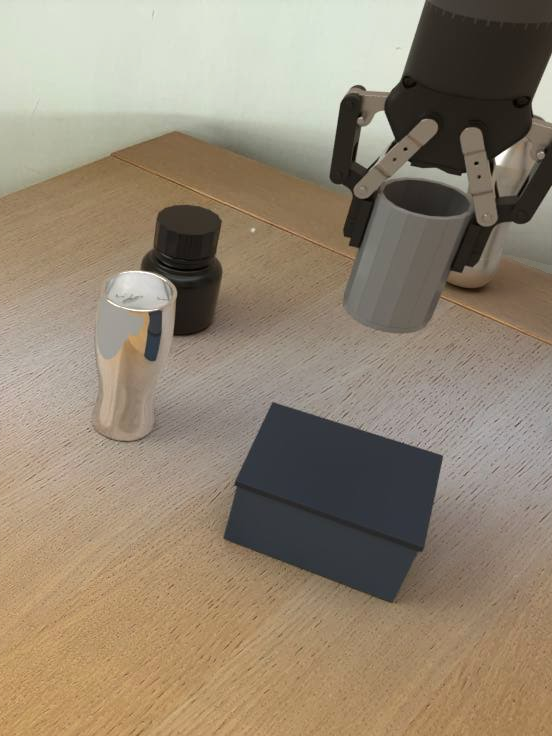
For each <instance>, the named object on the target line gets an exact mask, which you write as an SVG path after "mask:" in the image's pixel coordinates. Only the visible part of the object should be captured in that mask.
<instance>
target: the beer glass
mask: <svg viewBox="0 0 552 736" xmlns="http://www.w3.org/2000/svg"><path fill="white" fill-rule="evenodd" d="M176 298H177V290H176V288H175V286H174V285H173V283H172V282H171V281H169V280H168V279H166V278H165V277H163V276H161V275H158V274H156V273H152V272H148V271H141V270H140V269H128V270H122V271H117V272H115V273H112V274H110V275H108V276H107V277H106V278H104V280H103V281H102V282H101V284H100V292H99V297H98V303H97V306H96V307H97V308H96V313H95V322H94V332H93V333H94V335H93V342H94V343H93V344H94V355H95V363H96V364H95V365H96V366H95V367H96V373H97V382H98V383H97V384H98V386H97V387H98V389H97V396H96V398H95V401H94V402H95V403H94V405H93V408H92V412H91V422H92V426H93V427H94V428H95V430H96V431H97V432H98V433H100V434H101V435H103V436H104V437H106V438H108V439H110V440H115V441H121V442H131V441H137V440H141V439H142V438H144V437H146V436H148V435H149V434H151V432H152V431H153V429H154V426H155V408H154V407H155V406H154V401H155V400H154V399H155V393H156V390H157V388H158V387H157V386H158V385H159V381H160V379H161V376H162V374H163V371H164V368H165V366H166V363H167V361H168V358H169V355H170V352H171V351H170V350H171V348H172V343H173V338H174V334H173V333H174V325H175V313H176Z"/></svg>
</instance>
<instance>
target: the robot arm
mask: <svg viewBox="0 0 552 736" xmlns="http://www.w3.org/2000/svg"><path fill="white" fill-rule="evenodd" d="M407 55H408V56H407V59H406V62H405V65H404V68H403V72H402V74H401V77H400V79H399V82H398V83H397V84H396V85H395V86H394V87H393V88H392V89H391V90H390V91H378V90H377V91H376V90H367V89H366V87H365V86H363V85H361V84H355V85H353V86H351V87H349V89H348V91H347V92H346V93H345V95H344V96H343V98H342V99H341V101H340V103H339V108H338V116H337V122H336V129H335V135H334V142H333V148H332V156H331V162H330V169H329V180H330V182H331V183H333V184H334V185H342V186H344V187H346V188H347V189H349V191H350V192H351V196H352V199H351V202H350V204H349V208H348V212H347V215H346V218H345V222H344V224H343V228H342V233H343V237H344V238H348V239H349V242H348V246H349V247H352V248H355V249H358V248H359V245H360V242H361V239H362V236H363V233H364V230H365V227H366V223H367V220H368V217H369V214H370V211H371V208H372V205H373V202H374V198H375V195H376V191H377V189H378V187H380V186H381V185H382V184H383V183H384V182H385V181H387V180H389V178H390V179H391V177H392V176H394V175H395V173H397V171H399V170H400V169H401V168H402V167H403V166H404V165H405V164H406V163H407V162H408V163H410V164H409V166H410V167H414V168H419V169H438V170H441V171H442V172H444V173H446V174H448V175H452V176H458V177H462V175H463V174H466V177H467V183H468V185H469V188H470V193H471V195H472V197H473V203H474V209H475V213H474V215H473V218H472V220H471V222H470V225H469V227H468V230H467V232H466V235H465V237H464V240H463V242H462V244H461V247H460V249H459V252H458V254H457V257H456V259H455V262H454V264H453V267H452V269H451V271H454V272H458V273H462V272H463V269H464V267H465V266H469V267H474V266H475V265H476V264H477V263H478V262H479V260H480V257H481V255H482V253H483V250H484V248H485V246H486V243H487V241H488V239H489V236H490V234H491V232H492V230H493V228H494V227H495V226H496V225H498V224H500V223H503V222H512V223H514V224H517V225H525V224H528V223H529V222H531V220H532V219H533V217H534V215H535V214H536V212H537V210H538V209H539V207H540V206H541V204H542V202H543V201H544V199H545V197H546V196H547V195H548V193H549V191H550V190H551V188H552V122H549V121H546V120H545V121H543V120H539V119H536V118H533V114H534V111H533V101H534V98H535V96H536V93H537V90H538V89H539V86H540V84H541V81H542V79H543V76H544V74H545V71H546V69H547V67H548V64H549V62H550V59H551V57H552V0H425V1H424V4H423V7H422V10H421V13H420V16H419V20H418V23H417V27H416V30H415V33H414V36H413V39H412V43H411V46H410V49H409V52H408V54H407ZM379 112H384V114H385V118H386V119H387V122H388V125H389V127H390V130H391V132H392V135H393V137H394V139H392V141H390V143H388V145H386V147H384V149H383V150H382V151H381V153H380V154H379V155H378V156H377V157H376V158H375V159H374V160H373V161H371V163H370V164H369V165H368V166H367V167H365V166H363V165H362V164H360V163H358V162H357V156H358V150H359V145H360V144H359V143H360V138H361V132H362V128H363V127H367V126H369V125H370V124H371V123H372V121H373V119H374V117H375V115H376V114H378V113H379ZM524 137H527V138H528V139H529V140H530V141H531V143H532V145H531V150H530V156H531V158H532V159H533V160H535V161H536V162H535V164H534V165H533V167H532V169H531V171H530V172H529V174H528V176H527V177H526V179H525V181H524V182H523V184H522V186H521V188H520V189H519V191H518V193H517V194H516V195H514V196H503V197H500V192H499V185H498V179H497V166H496V159H495V157H497V156H498V155H500V154H501V153H503V152H504V151H506V150H507V149H508V148H510V147H511V146H513V145H514V144H516V143H517V142H519V141H520V140H522V139H523V138H524Z"/></svg>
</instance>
